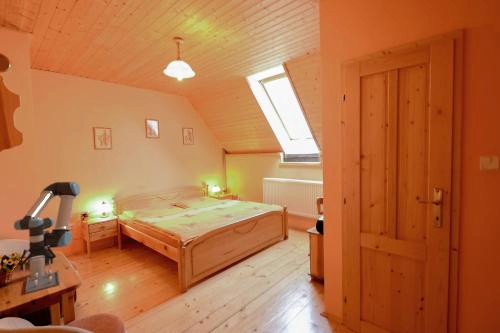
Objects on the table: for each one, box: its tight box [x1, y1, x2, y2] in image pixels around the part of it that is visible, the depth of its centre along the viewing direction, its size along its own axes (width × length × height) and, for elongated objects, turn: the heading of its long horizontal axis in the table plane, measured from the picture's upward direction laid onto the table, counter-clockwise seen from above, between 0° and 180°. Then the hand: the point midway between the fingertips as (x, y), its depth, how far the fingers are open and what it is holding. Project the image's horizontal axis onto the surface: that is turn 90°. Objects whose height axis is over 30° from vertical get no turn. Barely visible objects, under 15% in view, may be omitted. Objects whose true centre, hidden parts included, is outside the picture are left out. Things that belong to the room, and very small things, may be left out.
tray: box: [24, 269, 60, 295], centre depth 159 cm, size 22×16×5 cm
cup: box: [29, 256, 46, 278], centre depth 170 cm, size 8×8×12 cm
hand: (37, 271), depth 170 cm, fingers open, 13 cm apart
